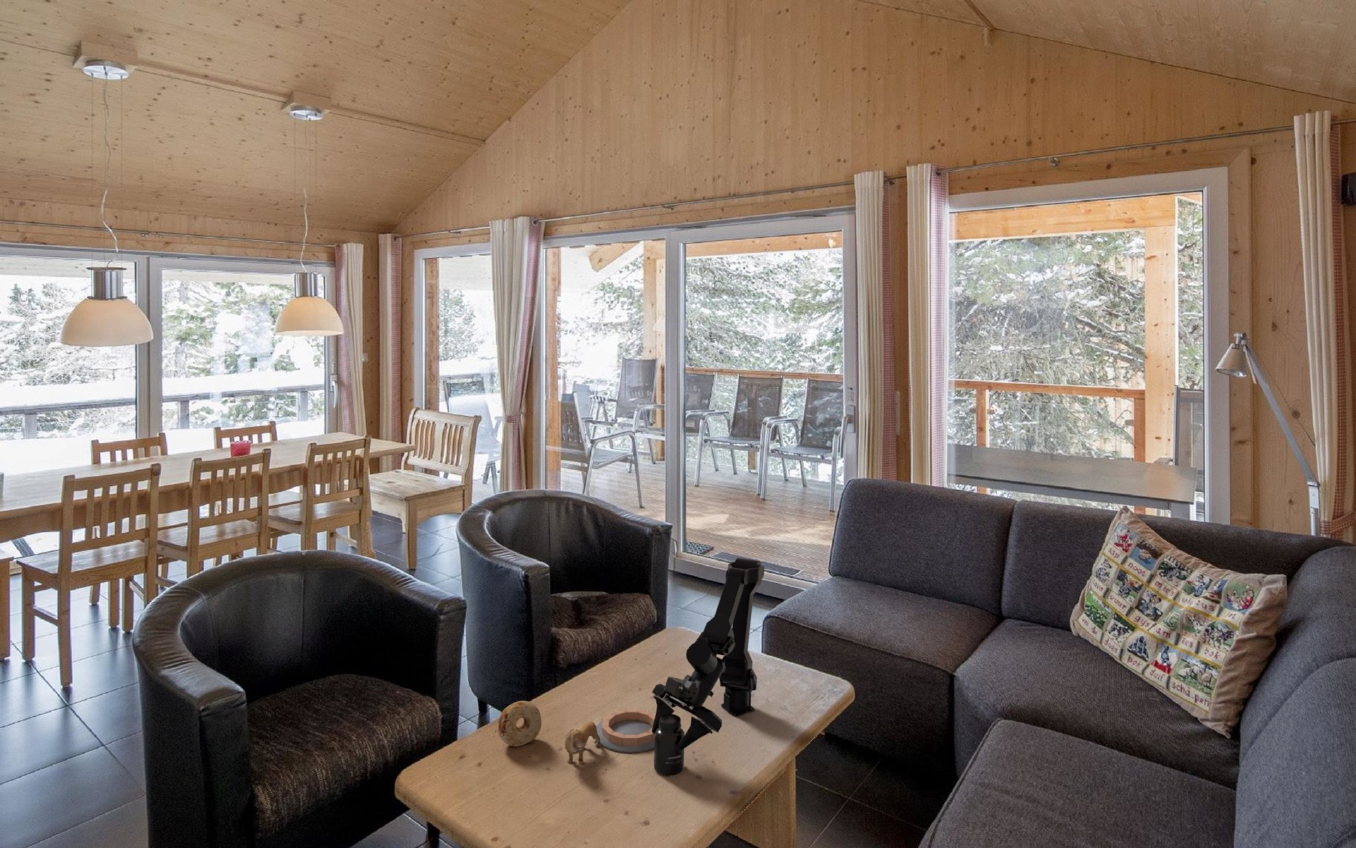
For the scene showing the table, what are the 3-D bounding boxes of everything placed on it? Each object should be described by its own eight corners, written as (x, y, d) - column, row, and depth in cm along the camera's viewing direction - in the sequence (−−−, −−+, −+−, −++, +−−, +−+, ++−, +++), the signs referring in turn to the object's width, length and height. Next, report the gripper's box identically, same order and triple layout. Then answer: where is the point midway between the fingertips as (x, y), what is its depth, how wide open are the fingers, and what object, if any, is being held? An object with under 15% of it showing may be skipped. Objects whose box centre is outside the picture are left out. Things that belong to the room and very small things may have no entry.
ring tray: (645, 708, 209) (645, 699, 208) (681, 740, 194) (681, 730, 193) (582, 726, 199) (582, 716, 199) (615, 760, 184) (615, 750, 184)
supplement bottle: (673, 780, 177) (674, 729, 175) (648, 771, 180) (648, 720, 179) (689, 766, 182) (690, 716, 181) (664, 757, 186) (665, 708, 184)
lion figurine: (582, 774, 179) (581, 736, 177) (559, 771, 180) (559, 733, 179) (604, 741, 193) (604, 706, 192) (583, 738, 194) (583, 703, 193)
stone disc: (502, 753, 187) (502, 712, 185) (497, 746, 190) (496, 706, 189) (544, 741, 192) (543, 701, 191) (538, 734, 195) (537, 695, 194)
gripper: (658, 650, 188) (620, 709, 182) (714, 677, 174) (675, 742, 168) (682, 673, 194) (647, 730, 188) (738, 700, 180) (701, 764, 175)
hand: (666, 741), depth 180 cm, fingers open, 9 cm apart
